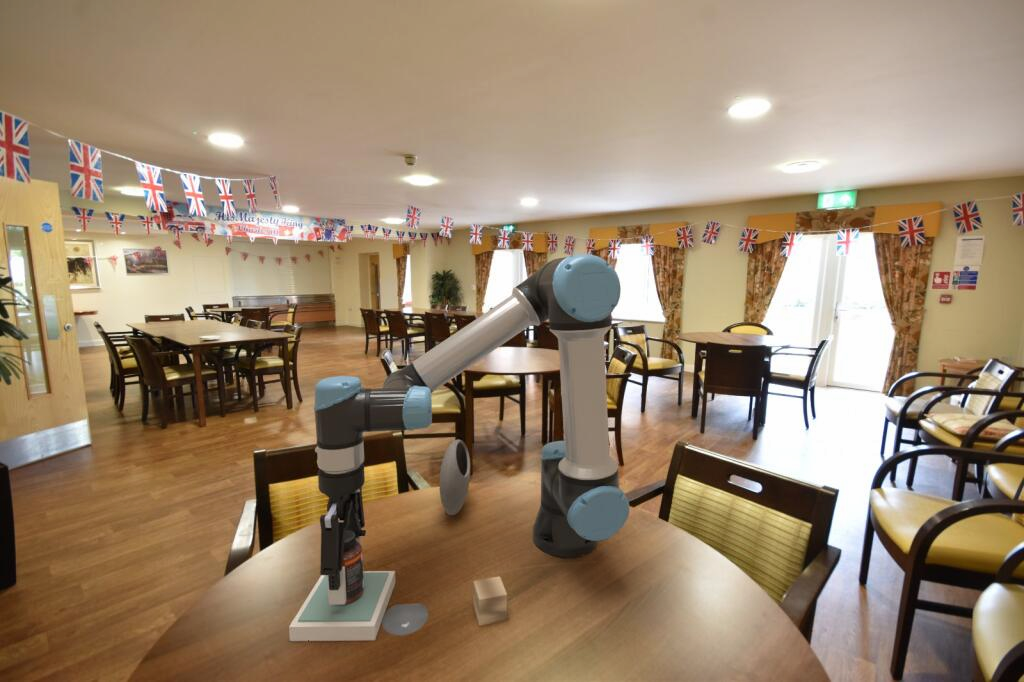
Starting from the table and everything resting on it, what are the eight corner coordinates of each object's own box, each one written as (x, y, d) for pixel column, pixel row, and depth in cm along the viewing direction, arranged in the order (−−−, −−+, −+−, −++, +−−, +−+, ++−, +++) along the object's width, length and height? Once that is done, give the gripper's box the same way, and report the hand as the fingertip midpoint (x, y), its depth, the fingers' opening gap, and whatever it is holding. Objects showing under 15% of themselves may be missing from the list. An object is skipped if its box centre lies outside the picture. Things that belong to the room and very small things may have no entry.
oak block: (499, 600, 81) (499, 576, 81) (506, 620, 77) (507, 594, 76) (473, 605, 80) (473, 581, 79) (479, 626, 75) (479, 599, 75)
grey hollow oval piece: (462, 530, 104) (461, 456, 102) (433, 529, 105) (432, 455, 103) (474, 494, 123) (474, 430, 120) (450, 493, 123) (449, 429, 121)
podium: (395, 583, 86) (395, 569, 85) (374, 640, 72) (374, 623, 72) (324, 583, 85) (323, 569, 85) (289, 641, 72) (288, 624, 71)
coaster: (431, 604, 81) (431, 600, 81) (424, 638, 73) (423, 633, 73) (388, 605, 81) (388, 601, 81) (376, 639, 73) (376, 634, 73)
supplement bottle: (370, 585, 81) (368, 528, 79) (352, 608, 75) (349, 548, 73) (341, 580, 82) (338, 525, 80) (322, 603, 76) (318, 544, 74)
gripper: (341, 444, 85) (345, 551, 88) (290, 493, 65) (298, 631, 68) (379, 444, 86) (382, 551, 88) (341, 493, 65) (347, 630, 68)
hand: (346, 585), depth 78 cm, fingers open, 8 cm apart
